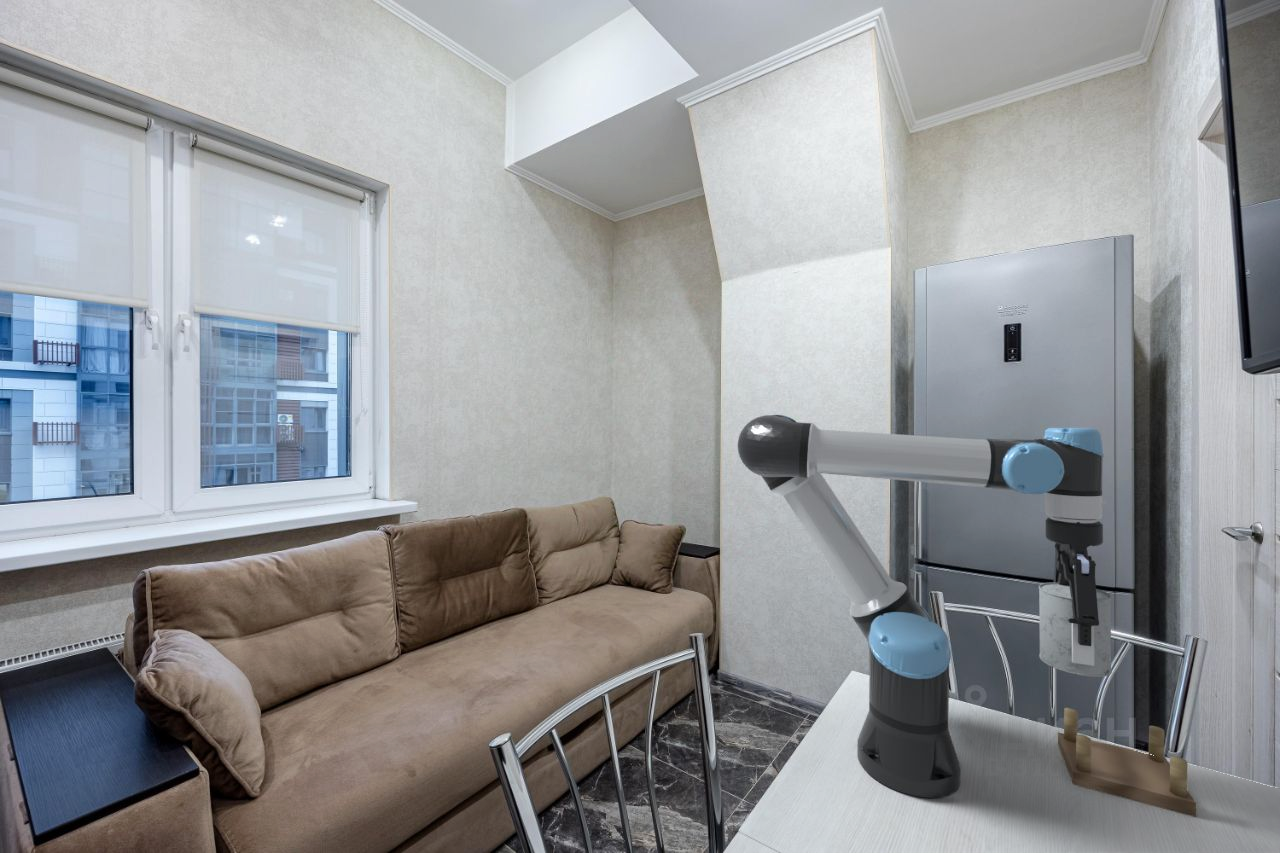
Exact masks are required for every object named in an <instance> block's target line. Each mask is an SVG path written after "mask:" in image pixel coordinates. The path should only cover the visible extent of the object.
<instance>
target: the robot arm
mask: <svg viewBox="0 0 1280 853" xmlns="http://www.w3.org/2000/svg"><path fill="white" fill-rule="evenodd" d="M737 451H738V456H739V458H740V460H741V462H742V463H743V465H744V466H745V467H746V468H747V469H748V470H749V471H751V473H754V474H755V475H758V476H760V477H761V478H762V479H763V481H764V482H765V484H766V485H767V487H768V488H769V490H770V492H771V493H775V494H779V495H781V496H783V498H784V499H785V501H786V502H787V504H788V505H789V507H790V509H791V510H792V511H793V513H794V515H795V516H796V518H797V520H798V521H799V523H800V524H801V526H802V527H803V528H804V531H805V532H806V533H807V535H808V536H809V538H810V539H811V541H812V543H813V544H814V545H815V547H816V548H817V550H818V551H819V553H820V555H821V556H822V558H823V560H824V561H825V562H826V564H827V566H828V567H829V568H830V570H831V573H833V575H834V577H835V579H836V580H837V581H838V583H839V585H841V587H842V589H843V590H844V592H845V594H846V595H847V597H848V598H849V599H850V602H851V603H850V607H849V608H850V609H849V614H850V615H851V617H852V619H853V620H854V622H855V623H856V625H857V627H858V628H859V630H860V631H861V633H862V634H863V636H864V638H865V639H866V641H867V643H868V644H867V646H868V657H869V658H868V660H869V684H868V685H869V692H868V693H869V694H868V695H869V696H868V698H869V700H868V702H869V703H868V705H869V706H868V711H867V715H866V717H865V720H864V723H863V725H862V728H861V730H860V732H859V735H858V738H857V744H856V745H857V748H856V751H857V752H856V754H857V755H856V756H857V760H858V762H859V764H860V766H861V767H862V769H864V771H865V772H866V773H867V774H868V775H870V776H871V777H872V778H873V779H875V780H876V781H878V782H879V783H881V784H883V785H884V786H887V787H888V788H890V789H892V790H894V791H898V792H900V793H903V794H906V795H910V796H914V797H920V798H928V799H930V798H931V799H933V798H943V797H948V796H951V795H952V794H954V793H956V792H957V790H959V788H960V785H961V764H960V760H959V757H958V754H957V752H956V748H955V746H954V745H955V744H954V742H953V739H952V736H951V734H950V730H949V705H950V704H949V700H950V699H949V698H950V695H949V694H950V692H949V691H950V689H949V688H950V685H949V684H950V663H951V659H952V658H951V657H952V654H951V648H950V642H949V641H950V640H949V637H948V635H947V633H946V631H945V630H944V629H943V628H942V627H941V626H940V625H939V624H937V623H936V622H935V621H933V619H932V618H931V616H930V614H929V613H928V612H927V610H926V609H925V608H924V607H922V606H921V604H920V603H918V602H917V600H916V598H915V597H914V596H913V595H912V593H911V592H910V590H909V588H908V587H907V585H906V584H905V583H903V582H901V581H900V582H899V581H897V580H893V579H892V578H891V576H890V574H888V571H887V570H886V569H885V567H884V566H883V565H882V562H880V560H879V559H878V557H877V555H876V554H875V552H874V551H873V550H872V547H871V546H870V545H869V543H868V542H867V540H866V539H865V537H864V536H863V534H862V533H861V531H860V530H859V529H858V526H856V524H855V522H854V521H853V519H852V517H850V515H849V513H848V512H847V511H846V509H845V508H844V506H843V504H842V503H841V501H840V500H839V499H838V497H837V496H836V494H835V492H834V491H833V490H832V487H831V486H830V485H829V484H828V482H827V481H826V479H825V477H824V476H823V475H822V474H826V475H827V474H828V475H838V476H840V475H841V476H851V477H862V478H872V479H873V478H875V479H885V480H894V481H895V480H896V481H907V482H919V483H929V484H942V485H943V484H944V485H951V486H954V485H955V486H965V487H966V486H967V487H978V488H986V489H996V490H1004V491H1005V490H1007V491H1015V492H1017V493H1019V494H1024V495H1043V494H1044V505H1045V506H1044V512H1045V515H1046V516H1049V517H1046V519H1045V538H1046V539H1047V540H1048V541H1050V542H1053V543H1055V544H1054V550H1055V552H1054V554H1055V555H1054V556H1055V557H1054V572H1053V574H1054V575H1053V583H1059V585H1067V586H1070V594H1071V598H1072V609H1073V617H1074V618H1073V619H1072V618H1070V619H1068V621H1069V623H1072V662H1073V663H1078V664H1085V665H1091V666H1094V626H1098V625H1099V619H1098V606H1097V594H1096V589H1097V584H1096V565H1097V564H1096V561H1095V560H1093V559H1092V556H1091V555H1089V553H1088V552H1089V551H1088V547H1099V546H1101V545H1102V544H1103V543H1104V524H1103V523H1102V522H1101V521H1099V520H1101V519H1102V518H1103V507H1106V506H1107V504H1108V503H1107V501H1106V500H1104V499H1103V464H1104V463H1103V462H1104V460H1103V459H1104V453H1103V440H1102V434H1101V432H1100V431H1099V430H1098V429H1097V428H1095V427H1094V428H1093V427H1049V428H1046V430H1045V431H1044V436H1043V438H1038V439H1037V438H1036V439H1014V438H1013V439H1011V438H1008V439H1007V438H994V439H993V438H983V439H982V438H981V439H977V438H976V439H975V438H974V439H973V438H962V437H948V436H947V437H945V436H929V435H927V436H926V435H913V434H898V433H896V434H895V433H882V432H881V433H880V432H866V431H865V432H863V431H851V430H849V431H848V430H835V429H833V430H831V429H820V428H819V427H818V426H817V425H816V424H815V423H811V422H798V421H796V420H795V419H793V418H792V417H789V416H786V415H783V414H771V415H762V416H757V417H755V418H753V419H752V420H750V421H749V422H748V423H746V425H745V426H744V427H743V428H742V430H741V431H740V433H739V435H738V441H737ZM1084 615H1086V616H1084ZM1087 616H1089V617H1087Z"/></svg>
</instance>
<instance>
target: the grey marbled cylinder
mask: <svg viewBox="0 0 1280 853" xmlns="http://www.w3.org/2000/svg"><path fill="white" fill-rule="evenodd" d="M1038 589H1039V590H1038V591H1039V592H1038V593H1039V594H1038V595H1039V597H1038V598H1039V599H1038V602H1039V605H1038V606H1039V608H1038V609H1039V611H1038V612H1039V613H1038V614H1039V655H1038V657H1039V659H1040V660H1041V661H1042V662H1043V663H1044V664H1046V665H1047V666H1049V667H1051V668H1053V669H1056V670H1059V671H1061V672H1065V673H1069V674H1074V675H1076V676H1081V677H1082V676H1083V677H1092V678H1102V677H1109V676H1110V675H1112V673H1113V669H1112V624H1111V623H1112V618H1111V617H1112V616H1111V615H1112V613H1111V612H1112V611H1111V610H1112V609H1111V608H1112V607H1111V606H1112V604H1111V602H1112V595H1111V594H1110V593H1108V592H1107V591H1103V590H1101V589H1098V588H1096V594H1097V606H1098V619H1099V625H1098V626H1094V666H1091V665H1085V664H1078V663H1073V662H1072V623H1069V621H1068V619H1070V618H1072V619H1073V618H1074V617H1073V609H1072V598H1071V594H1070V586H1067V585H1059V583H1054V582H1043V583H1041V584H1039V586H1038ZM1084 616H1086V615H1084ZM1087 617H1089V616H1087Z"/></svg>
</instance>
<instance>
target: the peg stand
mask: <svg viewBox="0 0 1280 853" xmlns="http://www.w3.org/2000/svg"><path fill="white" fill-rule="evenodd" d="M1063 714H1064V715H1063V719H1064V720H1063V732H1060V731H1059V732H1057V746H1058V748H1059V751H1060V754H1061V756H1062V758H1063V761H1064V762H1063V763H1064V764H1065V767H1066V769H1067V771H1068V774H1069V777H1070V780H1071V783H1072V784H1073V785H1075V786H1078V787H1082V788H1085V789H1089V790H1094V791H1098V792H1100V793H1105V794H1108V795H1112V796H1117V797H1120V798H1124V799H1128V800H1131V801H1135V802H1138V803H1143V804H1146V805H1150V806H1154V807H1157V808H1161V809H1165V810H1168V811H1172V812H1176V813H1180V814H1183V815H1187V816H1191V817H1195V818H1197V802H1196V801H1195V799H1194V797H1193V795H1191V793H1190V791H1189V790H1188V761H1187V760H1186V759H1184V758H1182V757H1180V756H1176V755H1171V756H1169V761H1168V759H1167V758H1166V757H1165V733H1166V732H1165V729H1163V728H1161V727H1159V726H1156V725H1149V726H1148V753H1149V754H1144V753H1141V752H1142V751H1141V752H1138V751H1139V750H1136V749H1131V748H1127V747H1123V746H1118V745H1114V744H1109V743H1106V742H1101V741H1096V740H1092V738H1090V737H1089V736H1087V735H1085V734H1079V733H1078V724H1079V723H1078V722H1079V719H1078V718H1079V717H1078V716H1079V712H1078V711H1077V709H1074V708H1070V707H1064V712H1063ZM1134 750H1136V751H1134ZM1150 754H1152V755H1150ZM1153 755H1154V756H1153Z"/></svg>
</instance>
